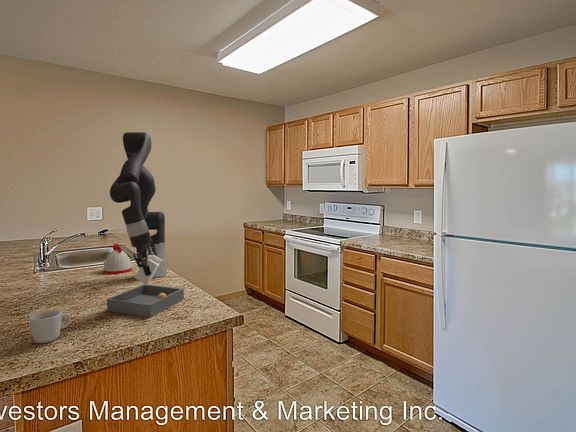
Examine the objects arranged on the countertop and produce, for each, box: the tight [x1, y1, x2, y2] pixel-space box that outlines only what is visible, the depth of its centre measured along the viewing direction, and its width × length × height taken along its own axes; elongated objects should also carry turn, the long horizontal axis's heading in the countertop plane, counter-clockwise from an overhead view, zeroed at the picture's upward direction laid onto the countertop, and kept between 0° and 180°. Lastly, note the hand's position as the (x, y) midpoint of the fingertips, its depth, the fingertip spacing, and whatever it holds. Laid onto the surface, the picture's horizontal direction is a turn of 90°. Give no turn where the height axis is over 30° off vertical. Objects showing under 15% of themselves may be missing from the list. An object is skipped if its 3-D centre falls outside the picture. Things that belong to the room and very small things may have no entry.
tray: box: [106, 283, 185, 318], centre depth 134 cm, size 20×20×4 cm
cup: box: [28, 309, 72, 344], centre depth 106 cm, size 11×8×8 cm
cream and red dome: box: [103, 243, 133, 275], centre depth 185 cm, size 14×14×15 cm
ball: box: [157, 293, 166, 300], centre depth 135 cm, size 3×3×3 cm
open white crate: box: [134, 255, 162, 284], centre depth 136 cm, size 5×5×10 cm
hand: (151, 272), depth 137 cm, fingers closed on open white crate, 5 cm apart
